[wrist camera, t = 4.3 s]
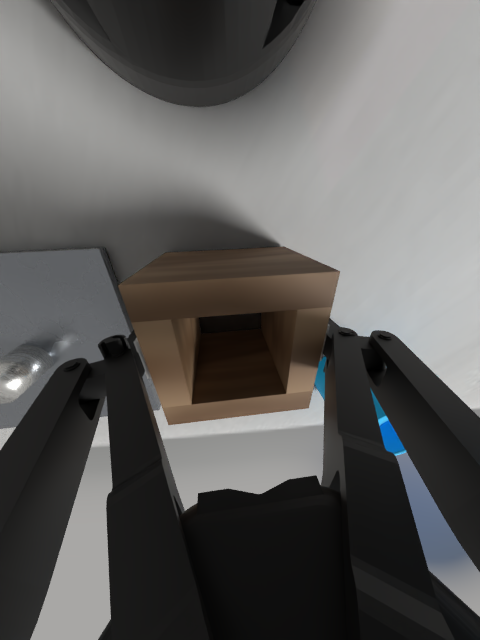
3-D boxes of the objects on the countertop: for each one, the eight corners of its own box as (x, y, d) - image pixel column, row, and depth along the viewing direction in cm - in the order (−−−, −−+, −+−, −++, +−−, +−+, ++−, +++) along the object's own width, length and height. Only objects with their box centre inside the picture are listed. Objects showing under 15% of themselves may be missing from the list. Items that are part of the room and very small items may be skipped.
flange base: (-176, 260, 13) (-347, 279, 9) (104, 247, 14) (63, 258, 10) (-2, 422, 21) (-49, 467, 17) (160, 404, 23) (149, 441, 19)
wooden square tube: (165, 252, 15) (117, 285, 8) (284, 246, 15) (340, 271, 8) (193, 382, 21) (181, 461, 15) (274, 373, 22) (300, 445, 15)
